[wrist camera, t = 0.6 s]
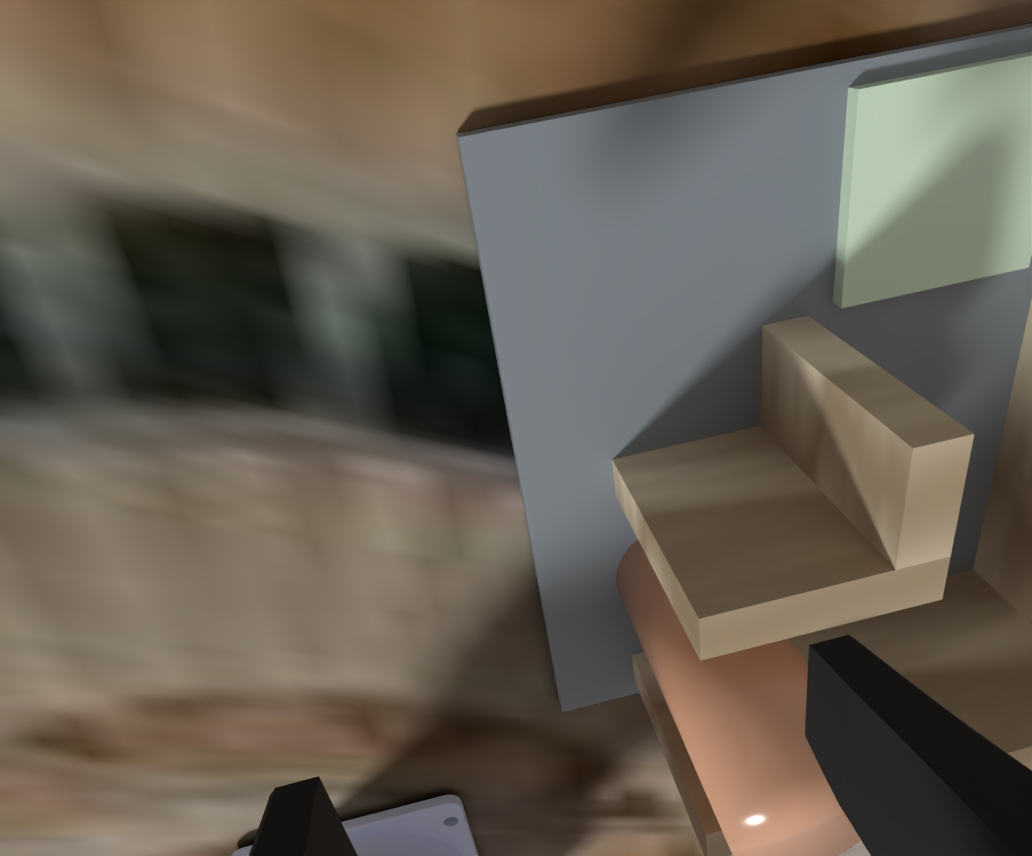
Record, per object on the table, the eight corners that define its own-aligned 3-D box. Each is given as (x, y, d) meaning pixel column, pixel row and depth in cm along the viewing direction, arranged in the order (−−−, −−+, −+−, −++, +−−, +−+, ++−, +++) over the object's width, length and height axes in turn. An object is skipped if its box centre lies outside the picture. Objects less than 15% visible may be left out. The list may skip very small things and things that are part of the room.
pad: (1016, 262, 19) (1029, 267, 19) (832, 302, 19) (841, 308, 19) (1060, 46, 17) (1075, 47, 16) (848, 87, 16) (858, 89, 16)
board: (1003, 587, 26) (1014, 597, 26) (558, 700, 25) (562, 712, 25) (1149, 0, 17) (1169, 0, 17) (455, 133, 16) (458, 137, 15)
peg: (729, 598, 23) (881, 846, 17) (621, 625, 23) (730, 889, 16) (729, 509, 22) (899, 746, 15) (611, 537, 21) (729, 792, 14)
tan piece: (1000, 587, 25) (1161, 736, 20) (634, 680, 24) (707, 861, 19) (1082, 255, 19) (1339, 347, 14) (602, 360, 19) (694, 499, 13)
